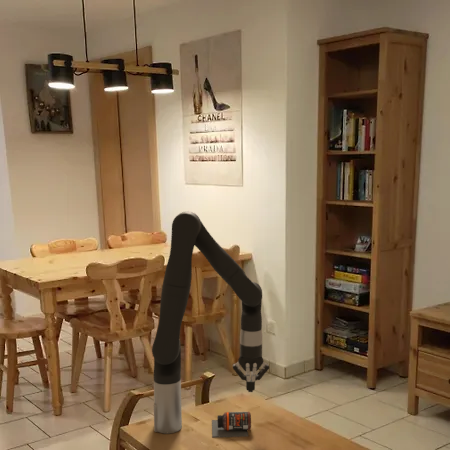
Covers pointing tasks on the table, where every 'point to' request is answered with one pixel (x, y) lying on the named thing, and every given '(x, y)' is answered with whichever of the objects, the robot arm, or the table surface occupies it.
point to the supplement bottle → (234, 421)
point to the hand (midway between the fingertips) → (250, 391)
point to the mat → (223, 433)
